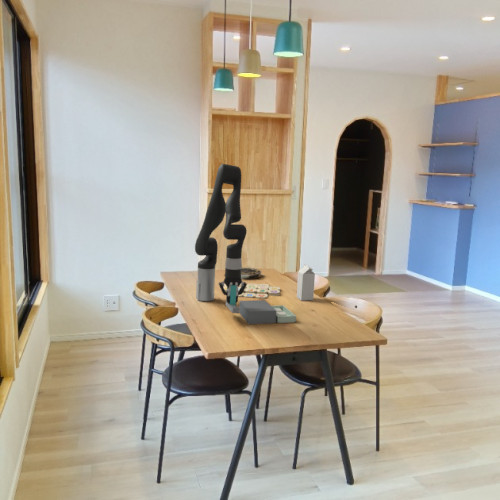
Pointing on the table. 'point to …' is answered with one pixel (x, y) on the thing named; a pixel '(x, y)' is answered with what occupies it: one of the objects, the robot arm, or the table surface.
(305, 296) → the milk carton
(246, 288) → the alphabet tiles
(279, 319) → the box
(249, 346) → the table surface
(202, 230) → the robot arm
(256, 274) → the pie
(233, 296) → the scraper
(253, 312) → the block
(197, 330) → the table surface
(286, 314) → the ceramic tile
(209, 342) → the table surface
